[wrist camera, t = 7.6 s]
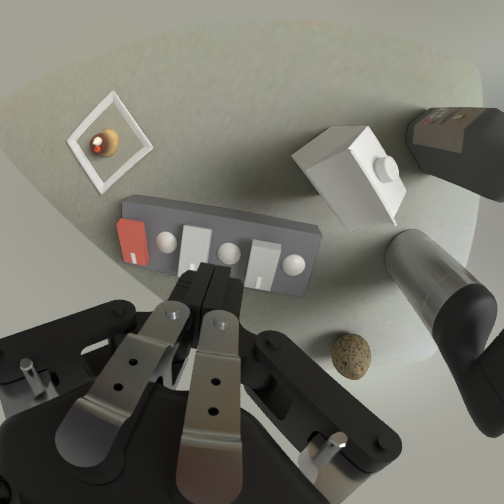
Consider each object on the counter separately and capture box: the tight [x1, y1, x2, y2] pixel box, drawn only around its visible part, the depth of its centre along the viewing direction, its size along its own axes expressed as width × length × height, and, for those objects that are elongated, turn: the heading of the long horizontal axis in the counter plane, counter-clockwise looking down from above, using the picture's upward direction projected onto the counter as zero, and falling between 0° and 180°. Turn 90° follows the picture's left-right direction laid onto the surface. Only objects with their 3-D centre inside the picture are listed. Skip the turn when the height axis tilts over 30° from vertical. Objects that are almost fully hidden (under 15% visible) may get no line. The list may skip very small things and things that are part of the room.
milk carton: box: [291, 126, 406, 232], centre depth 28 cm, size 7×7×19 cm
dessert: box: [66, 90, 153, 195], centre depth 34 cm, size 12×12×5 cm
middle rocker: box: [178, 224, 213, 277], centre depth 36 cm, size 4×7×2 cm, turn 170°
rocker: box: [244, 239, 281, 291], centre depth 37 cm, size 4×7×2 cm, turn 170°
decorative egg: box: [331, 334, 371, 380], centre depth 45 cm, size 7×7×10 cm
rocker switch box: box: [122, 195, 322, 297], centre depth 40 cm, size 28×10×4 cm, turn 80°
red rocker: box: [116, 218, 149, 266], centre depth 36 cm, size 4×7×2 cm, turn 170°
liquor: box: [406, 107, 504, 202], centre depth 20 cm, size 9×9×30 cm
